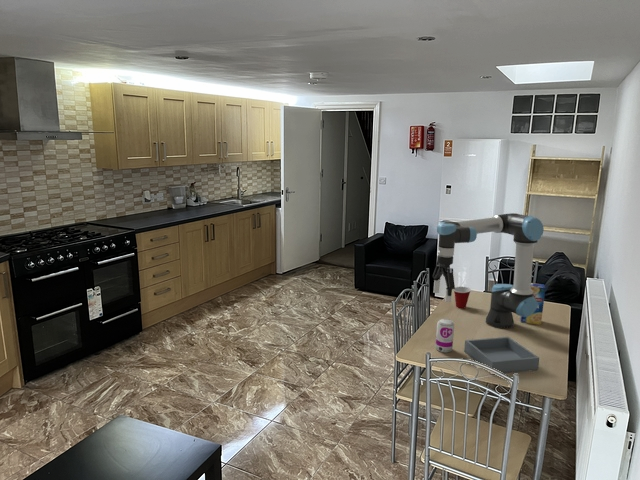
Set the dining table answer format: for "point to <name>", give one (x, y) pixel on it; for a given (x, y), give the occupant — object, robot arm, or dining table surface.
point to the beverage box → (539, 296)
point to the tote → (502, 354)
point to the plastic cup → (461, 296)
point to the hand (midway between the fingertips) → (441, 297)
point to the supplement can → (444, 335)
